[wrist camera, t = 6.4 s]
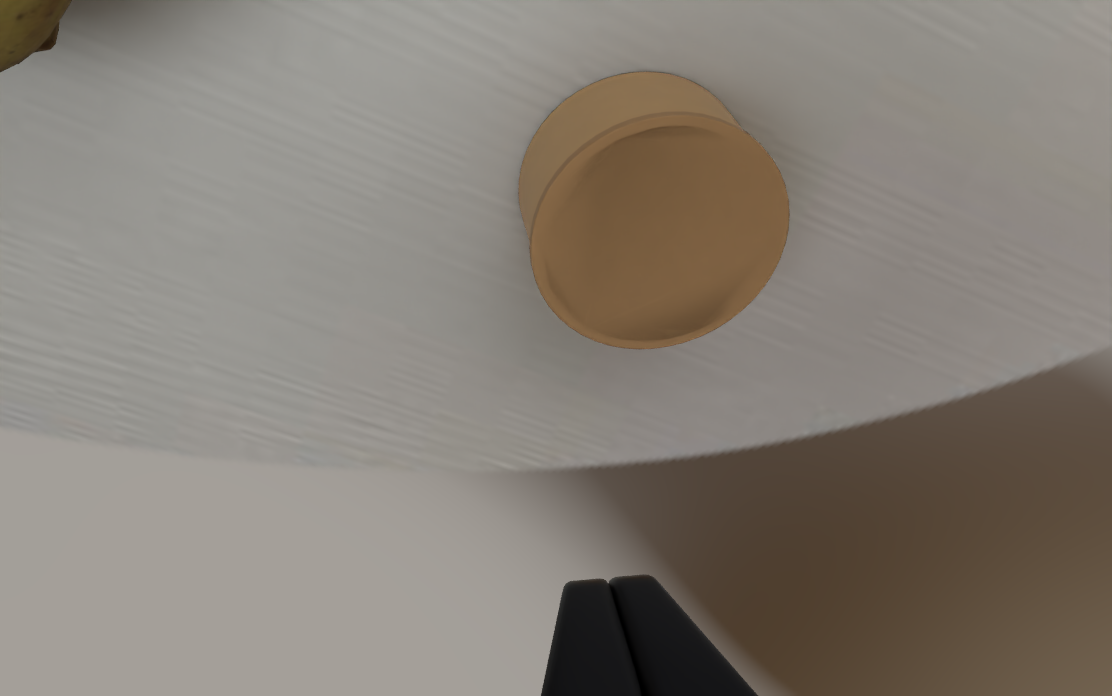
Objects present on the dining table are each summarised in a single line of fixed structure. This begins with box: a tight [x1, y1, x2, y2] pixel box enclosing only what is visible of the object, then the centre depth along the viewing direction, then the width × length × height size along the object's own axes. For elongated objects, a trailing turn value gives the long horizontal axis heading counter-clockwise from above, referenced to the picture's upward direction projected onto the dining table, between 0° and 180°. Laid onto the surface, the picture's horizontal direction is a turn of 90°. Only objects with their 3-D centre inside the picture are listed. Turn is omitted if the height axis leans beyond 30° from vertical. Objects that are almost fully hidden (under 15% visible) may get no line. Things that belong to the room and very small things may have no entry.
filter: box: [518, 72, 789, 349], centre depth 21 cm, size 5×5×2 cm
